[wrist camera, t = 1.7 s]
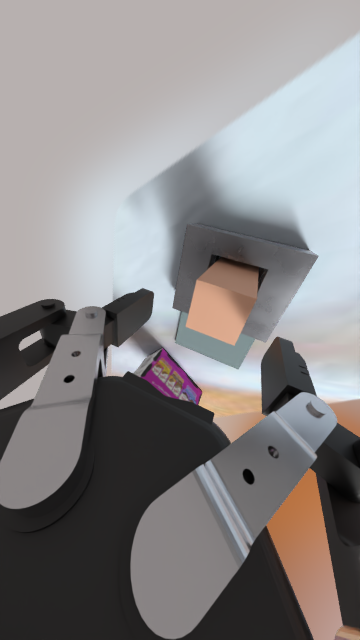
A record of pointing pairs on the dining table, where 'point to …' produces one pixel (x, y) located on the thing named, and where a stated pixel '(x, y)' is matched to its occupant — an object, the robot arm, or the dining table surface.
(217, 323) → the plug
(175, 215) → the dining table surface
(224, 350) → the mat
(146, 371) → the candy bar box
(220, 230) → the grey socket frame
